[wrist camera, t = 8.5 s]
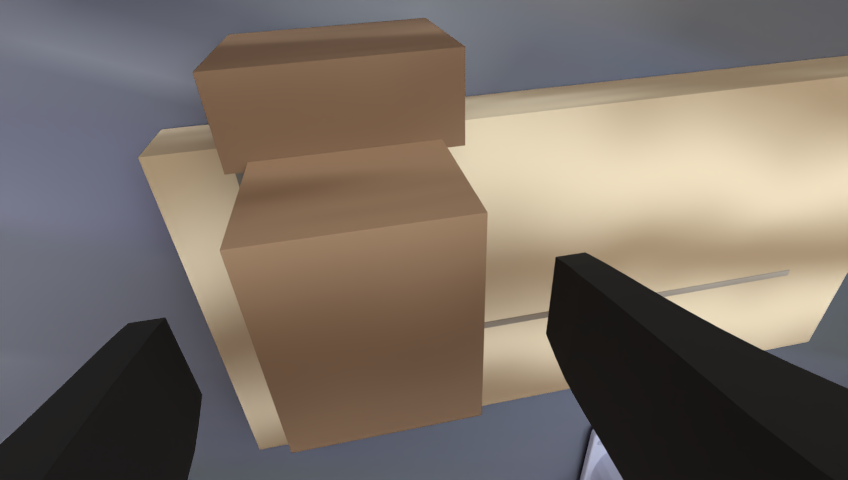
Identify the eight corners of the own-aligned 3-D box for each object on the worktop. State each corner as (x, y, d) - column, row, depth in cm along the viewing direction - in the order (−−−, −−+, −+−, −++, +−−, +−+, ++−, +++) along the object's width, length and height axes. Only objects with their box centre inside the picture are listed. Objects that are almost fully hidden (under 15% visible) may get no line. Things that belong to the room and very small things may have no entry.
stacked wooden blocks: (438, 311, 18) (497, 496, 12) (306, 333, 17) (300, 541, 11) (425, 17, 12) (526, 91, 6) (228, 34, 12) (133, 134, 6)
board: (772, 311, 23) (810, 343, 21) (264, 406, 19) (259, 452, 18) (898, 50, 16) (970, 63, 14) (161, 129, 13) (136, 158, 11)
